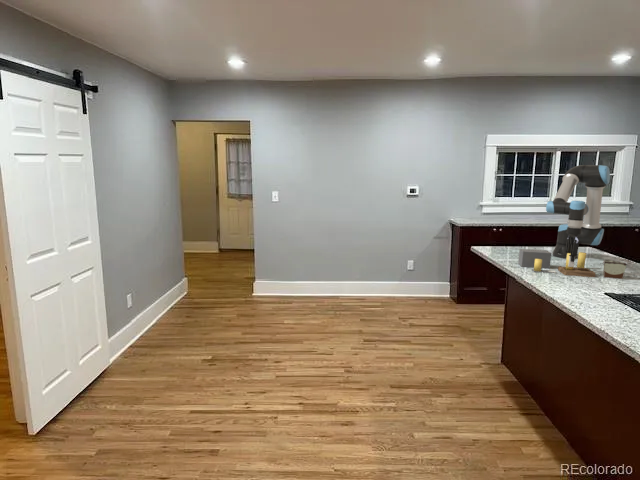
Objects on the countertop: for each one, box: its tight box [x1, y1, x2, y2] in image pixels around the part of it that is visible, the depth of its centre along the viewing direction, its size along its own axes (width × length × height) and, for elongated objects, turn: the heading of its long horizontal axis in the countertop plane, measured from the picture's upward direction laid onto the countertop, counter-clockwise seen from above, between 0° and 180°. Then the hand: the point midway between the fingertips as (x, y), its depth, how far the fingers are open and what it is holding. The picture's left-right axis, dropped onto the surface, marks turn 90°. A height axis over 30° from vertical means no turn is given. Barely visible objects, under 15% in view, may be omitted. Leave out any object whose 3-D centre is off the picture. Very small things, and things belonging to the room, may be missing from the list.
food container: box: [602, 258, 629, 280], centre depth 246 cm, size 12×6×10 cm, turn 71°
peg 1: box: [564, 253, 573, 270], centre depth 253 cm, size 4×4×10 cm
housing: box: [517, 248, 553, 270], centre depth 269 cm, size 8×16×10 cm, turn 79°
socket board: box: [557, 266, 596, 278], centre depth 253 cm, size 12×16×2 cm
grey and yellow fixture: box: [531, 259, 558, 274], centre depth 256 cm, size 5×13×7 cm, turn 79°
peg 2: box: [576, 251, 587, 268], centre depth 265 cm, size 4×4×10 cm
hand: (569, 265), depth 253 cm, fingers closed on peg 1, 3 cm apart
